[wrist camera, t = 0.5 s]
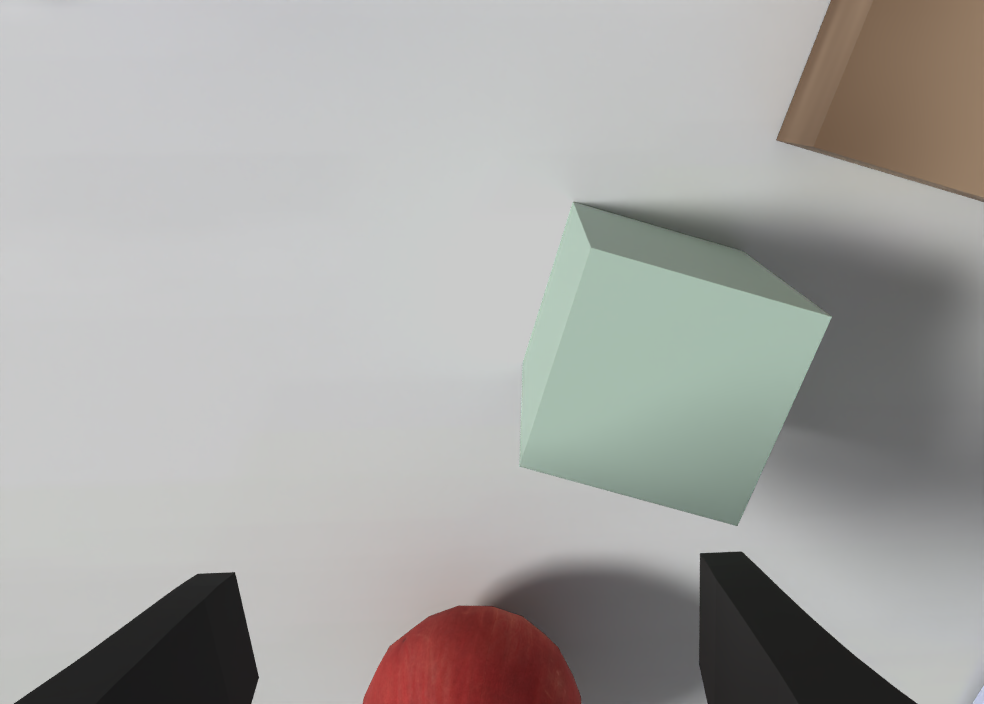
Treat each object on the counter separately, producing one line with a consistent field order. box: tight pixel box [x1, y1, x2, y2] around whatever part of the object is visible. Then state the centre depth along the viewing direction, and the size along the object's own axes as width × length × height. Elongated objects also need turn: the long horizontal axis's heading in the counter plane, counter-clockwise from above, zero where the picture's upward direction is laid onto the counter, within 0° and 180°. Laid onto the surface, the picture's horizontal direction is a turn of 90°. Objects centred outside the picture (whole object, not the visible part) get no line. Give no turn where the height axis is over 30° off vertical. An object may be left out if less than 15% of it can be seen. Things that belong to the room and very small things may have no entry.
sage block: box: [519, 202, 832, 526], centre depth 17 cm, size 4×4×6 cm
